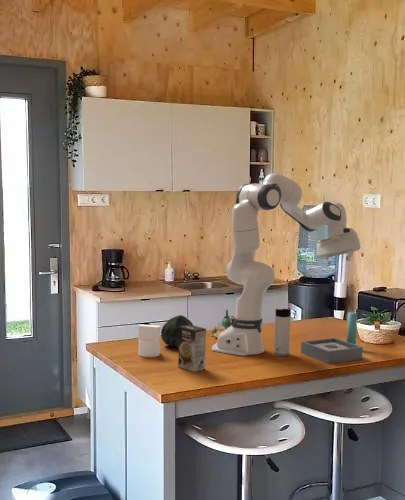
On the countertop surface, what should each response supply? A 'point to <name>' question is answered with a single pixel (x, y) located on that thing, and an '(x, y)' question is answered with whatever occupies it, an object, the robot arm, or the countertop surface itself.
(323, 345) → the plate
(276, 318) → the travel mug
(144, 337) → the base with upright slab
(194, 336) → the coffee box
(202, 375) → the countertop surface
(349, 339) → the peg
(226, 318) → the frog figurine
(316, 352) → the box
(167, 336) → the squash
